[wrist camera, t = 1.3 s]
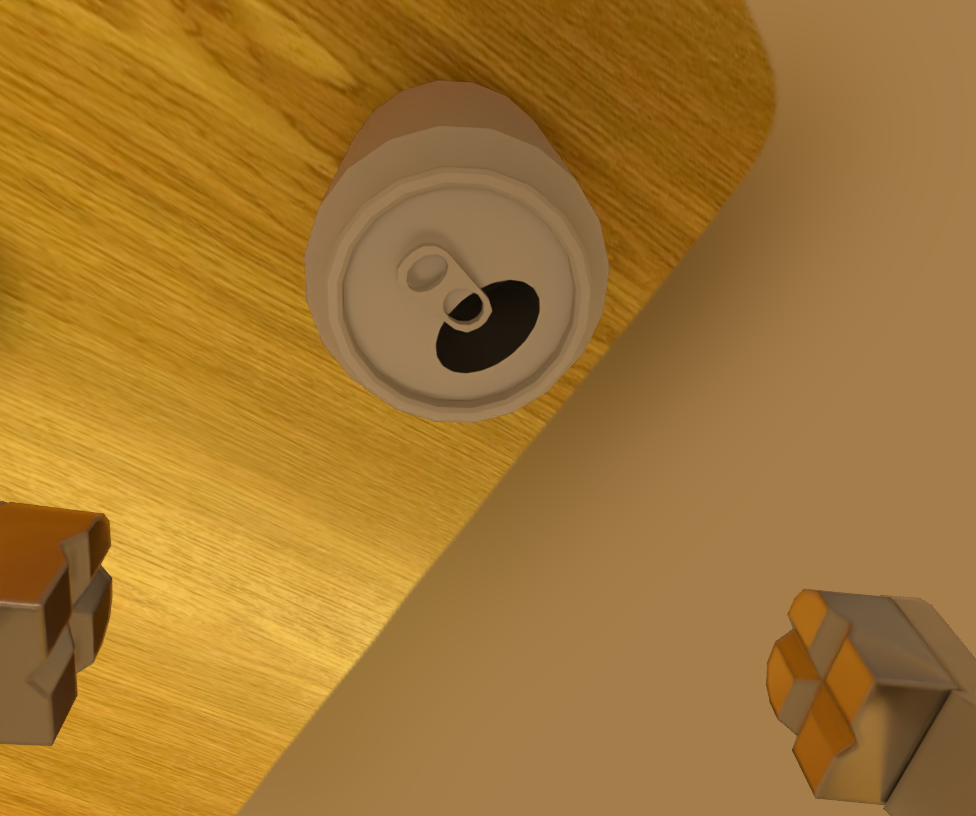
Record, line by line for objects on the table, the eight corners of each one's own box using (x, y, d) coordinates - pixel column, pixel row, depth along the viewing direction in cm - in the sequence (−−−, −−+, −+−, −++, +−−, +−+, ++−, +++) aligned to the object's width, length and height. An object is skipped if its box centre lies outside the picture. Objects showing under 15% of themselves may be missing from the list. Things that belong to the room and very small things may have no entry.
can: (445, 327, 32) (450, 502, 21) (299, 182, 29) (222, 300, 18) (596, 196, 30) (687, 316, 19) (457, 26, 27) (471, 56, 16)
